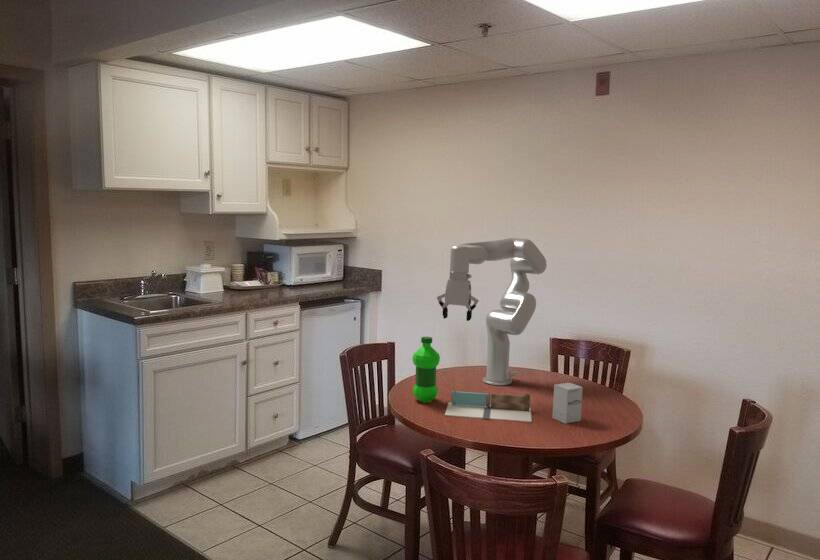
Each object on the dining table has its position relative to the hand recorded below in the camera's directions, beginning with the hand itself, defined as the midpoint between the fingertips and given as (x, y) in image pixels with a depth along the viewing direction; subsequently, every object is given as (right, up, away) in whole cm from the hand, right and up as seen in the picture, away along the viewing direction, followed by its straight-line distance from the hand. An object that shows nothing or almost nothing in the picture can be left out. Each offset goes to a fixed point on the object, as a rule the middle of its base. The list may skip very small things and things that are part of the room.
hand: (456, 319), depth 246 cm
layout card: (+10, -33, -19) cm, 40 cm away
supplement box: (+38, -35, -24) cm, 57 cm away
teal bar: (+4, -32, -13) cm, 35 cm away
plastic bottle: (-13, -32, -6) cm, 35 cm away
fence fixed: (+19, -33, -15) cm, 41 cm away
